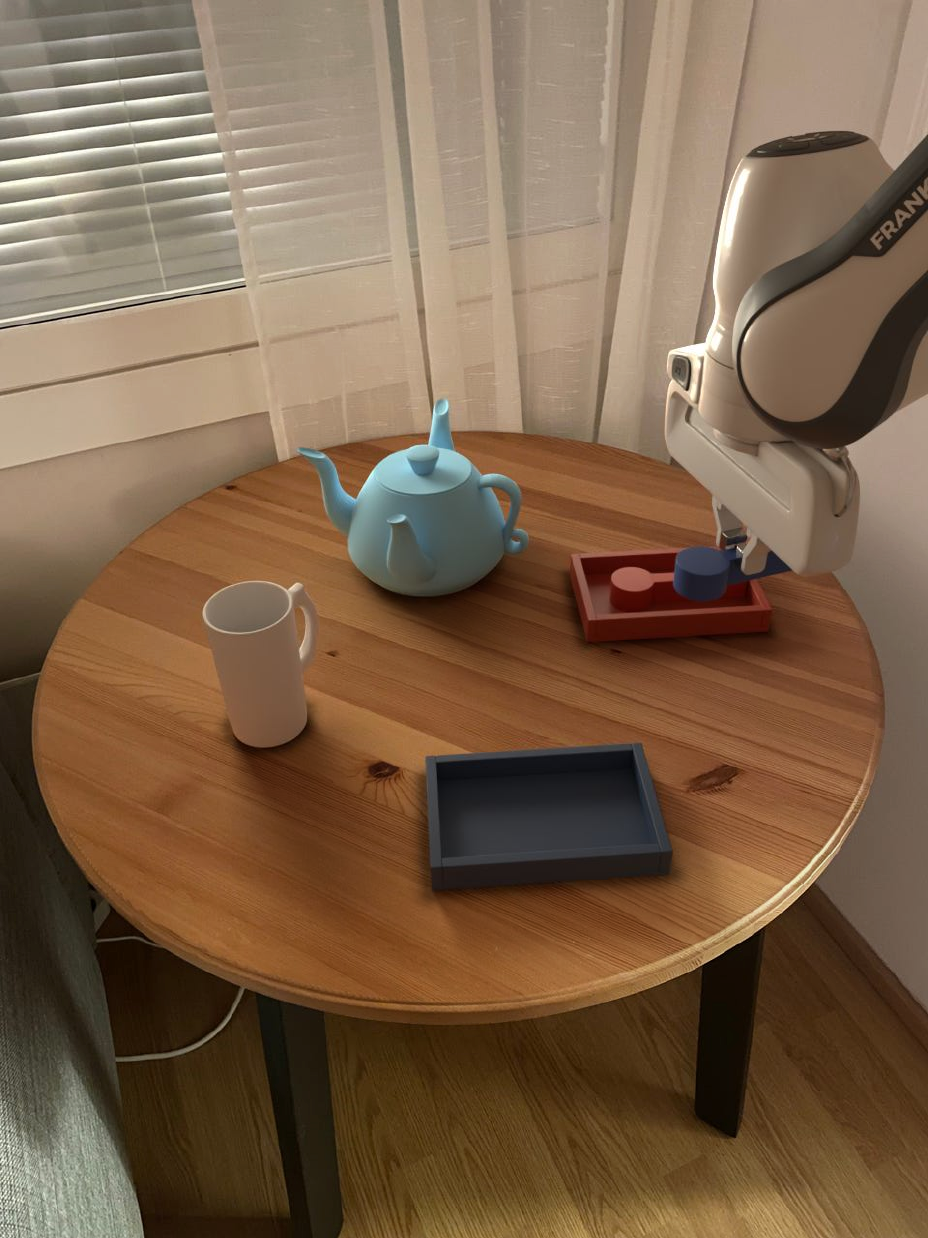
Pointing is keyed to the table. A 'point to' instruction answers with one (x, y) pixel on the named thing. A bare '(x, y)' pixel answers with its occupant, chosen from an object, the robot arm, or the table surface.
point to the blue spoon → (715, 572)
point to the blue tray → (543, 817)
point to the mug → (262, 658)
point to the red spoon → (652, 589)
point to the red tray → (660, 617)
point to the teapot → (424, 516)
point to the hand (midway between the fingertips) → (739, 559)
